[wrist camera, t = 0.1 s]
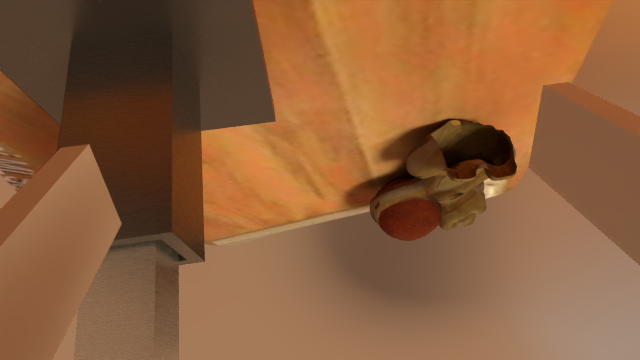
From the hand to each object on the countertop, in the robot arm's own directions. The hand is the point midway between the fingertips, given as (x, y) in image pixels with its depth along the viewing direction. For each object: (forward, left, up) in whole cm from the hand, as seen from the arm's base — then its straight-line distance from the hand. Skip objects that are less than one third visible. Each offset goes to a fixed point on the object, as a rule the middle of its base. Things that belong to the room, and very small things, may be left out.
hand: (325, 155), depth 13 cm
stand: (+11, -10, -15) cm, 21 cm away
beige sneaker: (+33, +15, -16) cm, 40 cm away
